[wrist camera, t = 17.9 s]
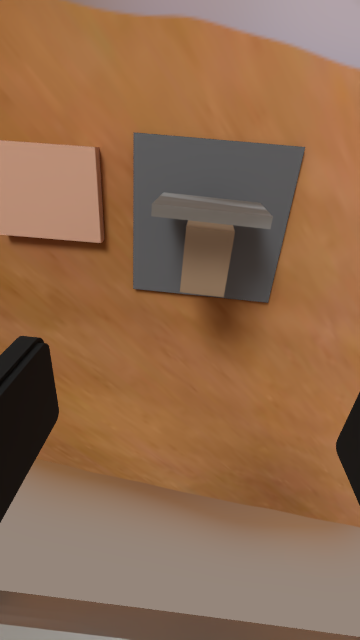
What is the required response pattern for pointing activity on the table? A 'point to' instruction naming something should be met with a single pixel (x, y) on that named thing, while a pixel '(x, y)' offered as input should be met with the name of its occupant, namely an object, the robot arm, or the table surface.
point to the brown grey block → (209, 236)
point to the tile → (51, 191)
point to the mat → (216, 182)
